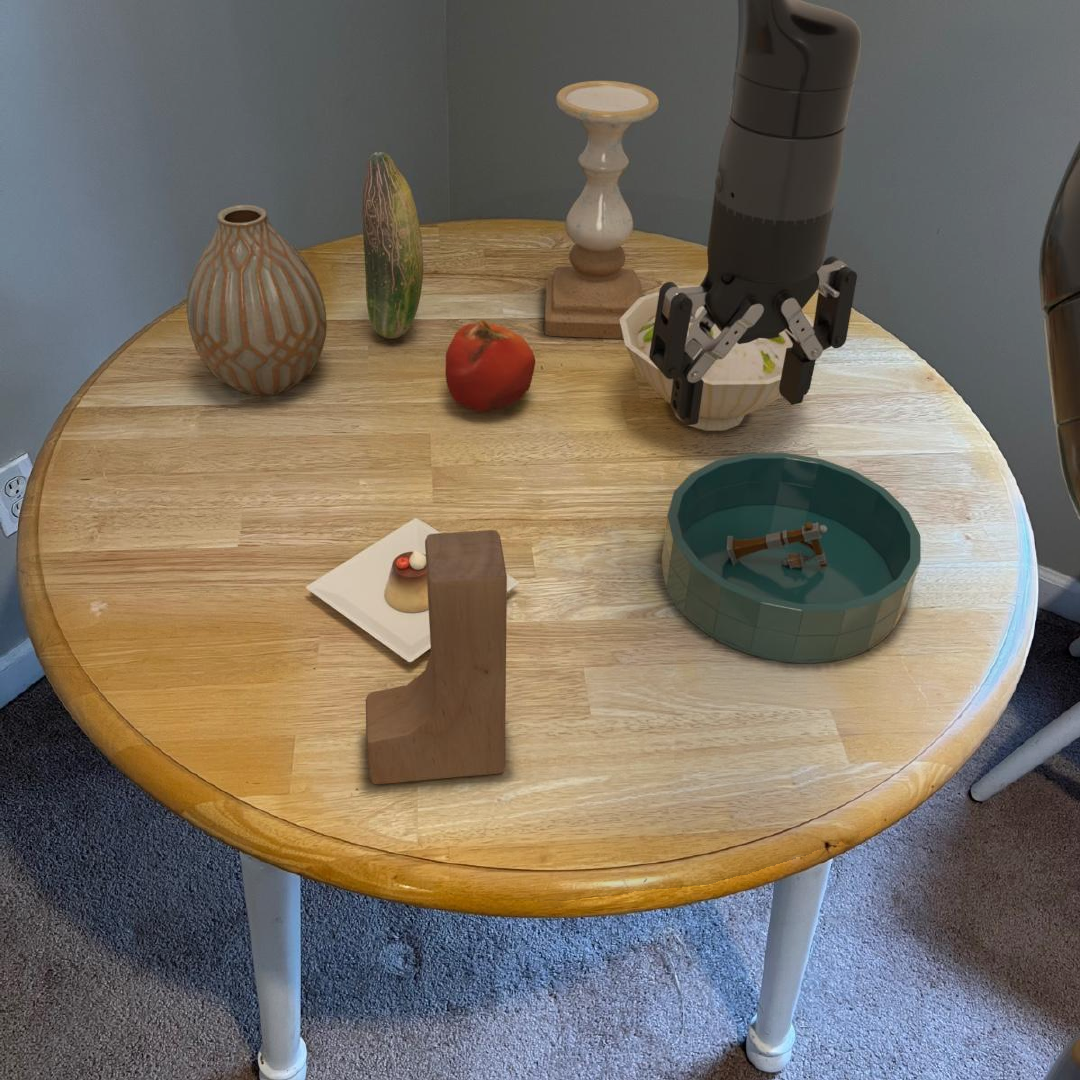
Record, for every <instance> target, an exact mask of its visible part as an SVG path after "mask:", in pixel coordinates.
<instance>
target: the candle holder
mask: <svg viewBox="0 0 1080 1080" xmlns="http://www.w3.org/2000/svg"><path fill="white" fill-rule="evenodd" d="M555 97H556V98H555V101H556V107H557V108H558V109H559V111H561V112H562V113H563V114H565V115H566V116H568V117H571V118H572V119H576V120H579V121H580V123H581V125H582V127H583V128H584V129H585V130H586V135H587V143H586V146H585V148H584V149H583V151H582V152H581V153H580V154H579V155H578V158H577V162H578V164H579V166H580V167H582V171H583V173H584V175H585V179H586V180H585V181H586V182H585V183H584V184H585V185H584V187H583V189H582V191H581V193H580V194H579V195H578V197H577V198H576V199H575V201H574V202H573V204H572V205H571V207H570V208H569V210H568V212H567V214H566V219H565V221H564V225H565V226H564V229H565V232H566V235H567V236H568V238H569V239H570V240H571V241H572V242H573V243H574V244H573V246H572V247H571V249H570V251H569V255H568V257H569V258H568V259H569V263H570V264H571V266H556V267H555V268H554V270H553V274H551V275H548V276H547V279H546V283H545V284H546V285H545V305H544V306H545V308H544V326H543V327H544V334H545V335H546V336H549V337H552V336H553V337H566V338H567V337H568V338H569V337H571V338H596V339H623V340H624V338H623V333H622V329H621V324H620V320H619V319H620V318H621V317H622V316H623V315H624V314H625V313H626V311H627V310H628V309H629V308H630V307H631V306H632V305H633V304H634V303H635V302H636V301H637V300H638V299H639V298H640V297H643V296H644V295H643V294H644V293H643V286H642V281H641V279H640V278H637V273H636V271H635V270H634V269H631V268H623V267H624V266H625V263H626V254H625V251H624V249H623V247H622V246H623V245H624V244H626V243H627V242H628V241H629V239H630V238H631V237H632V235H633V231H634V219H633V215H632V212H631V210H630V208H629V206H628V204H627V202H626V201H625V199H624V197H623V195H622V193H621V189H620V186H619V179H620V177H621V176H622V174H623V173H624V170H625V169H626V168H628V166H629V164H630V160H629V157H628V156H627V154H626V153H625V151H624V147H623V139H624V135H625V133H626V132H627V130H628V129H629V128H630V127H631V125H632V123H637V122H641V121H644V120H647V119H649V118H651V117H653V115H655V114H656V113H657V111H658V109H659V102H660V101H659V97H658V95H657V94H655V93H654V92H653V91H652V90H650V89H648V88H646V87H643V86H642V85H641V86H640V85H637V84H633V83H630V82H623V81H615V80H589V81H581V82H576V83H572V84H569V85H566V86H564V87H563V88H561V89H560V90H559V91H558V92H557V94H556V96H555Z"/></svg>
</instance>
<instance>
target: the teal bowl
mask: <svg viewBox="0 0 1080 1080" xmlns="http://www.w3.org/2000/svg"><path fill="white" fill-rule="evenodd" d="M666 514H667V517H666V524H665V529H664V530H665V532H664V539H663V547H662V555H661V562H660V563H661V568H662V577H663V581H664V582H663V583H664V585H665V587H666V590H667V593H668V595H669V597H670V598H671V600H672V601H673V602H672V603H674V604H675V606H676V607H677V608H678V610H679V611H680V612H681V614H682V615H683V616H684V617H685V618H686V619H687V620H689V621H690V623H692V625H694V626H695V627H697V629H699V630H700V631H702V632H703V633H704V634H706V635H707V636H709V637H711V638H712V639H714V640H716V641H718V642H719V643H721V644H724V645H726V646H727V647H730V648H732V649H734V650H736V651H740V652H743V653H744V654H748V655H751V656H754V657H759V658H762V659H766V660H772V661H777V662H783V663H795V664H820V663H829V662H836V661H840V660H844V659H849V658H852V657H854V656H857V655H860V654H862V653H864V652H866V651H868V650H870V649H872V648H874V647H875V646H877V645H878V644H880V643H881V642H882V641H883V640H885V639H886V638H887V637H888V636H889V635H890V634H891V633H892V632H893V631H894V629H895V627H896V626H897V625H898V623H899V621H900V618H901V616H902V614H903V613H904V611H905V609H906V606H907V603H908V599H909V597H910V594H911V591H912V588H913V585H914V582H915V579H916V576H917V573H918V570H919V567H920V563H921V561H922V559H921V556H922V553H921V551H922V549H921V548H922V546H921V541H922V540H921V533H920V531H919V530H918V528H917V526H916V524H915V522H914V519H913V518H912V516H911V514H910V512H909V510H907V508H906V507H905V506H904V505H902V503H901V502H900V501H898V499H897V498H895V496H894V495H892V494H891V492H889V491H888V490H887V489H886V488H885V487H883V486H881V485H880V484H879V483H876V482H874V481H873V480H871V479H869V478H868V477H867V476H864V475H863V474H861V473H859V472H858V471H856V470H855V469H854V470H853V469H851V468H848V467H845V466H842V465H839V464H838V463H837V464H836V463H834V462H832V461H828V460H825V459H822V458H818V457H813V456H807V455H801V454H794V453H788V452H748V453H744V454H738V455H734V456H729V457H724V458H720V459H716V460H714V461H713V462H710V463H709V464H707V465H705V466H702V467H701V468H699V469H697V470H695V471H693V472H691V473H690V474H689V475H688V476H687V477H686V478H685V479H684V480H683V481H682V482H681V484H679V486H678V487H677V488H676V489H675V490H674V491H673V493H672V497H671V501H670V503H669V507H668V511H667V513H666ZM810 522H811V524H815V523H817V522H818V524H819V526H821V525H825V526H826V527H827V532H826V533H825V534H821V538H818V541H819V543H820V546H821V548H822V549H823V551H824V553H825V558H826V561H827V567H822V568H821V567H820V564H819V562H817V559H812V558H811V559H812V560H810V562H808V560H807V562H805V564H804V568H803V567H802V566H797V567H793V568H791V569H790V566H789V565H788V566H784V565H783V564H782V560H783V559H785V558H787V559H788V554H798V553H800V552H799V550H801V552H802V553H803V555H804V556H805V555H806V556H807V553H808V554H809V555H814V554H815V553H814V552H813V550H811V549H810V548H808V547H806V546H804V545H802V544H801V543H799V542H794V543H791V544H790V546H787V547H786V545H783V548H776V549H772V550H770V551H769V549H765V550H761V551H758V552H755V553H752V554H749V555H746V556H743V557H741V558H739V559H738V564H734V565H733V563H732V561H731V558H730V556H729V553H728V550H727V542H728V536H733V539H734V540H745V539H756V538H762V537H766V535H767V534H773V533H777V532H779V531H780V533H783V530H787V532H789V531H793V530H797V529H802V526H805V524H806V523H810ZM804 541H805V540H804ZM807 542H808V543H809V544H811V545H812V543H811V541H810V540H809V541H807ZM810 557H812V556H810ZM813 558H815V556H813Z"/></svg>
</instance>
